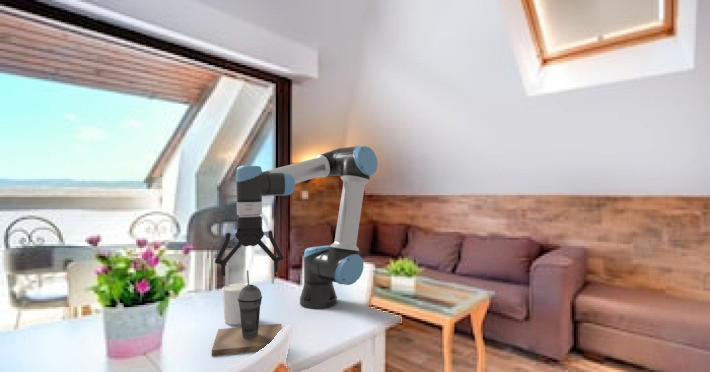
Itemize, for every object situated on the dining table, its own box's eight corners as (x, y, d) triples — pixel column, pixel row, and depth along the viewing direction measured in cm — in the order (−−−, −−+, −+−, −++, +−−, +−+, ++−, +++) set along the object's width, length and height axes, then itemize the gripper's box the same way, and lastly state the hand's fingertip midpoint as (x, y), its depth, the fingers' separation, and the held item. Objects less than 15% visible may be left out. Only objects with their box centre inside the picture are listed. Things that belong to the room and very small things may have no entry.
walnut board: (281, 328, 124) (281, 323, 124) (283, 348, 109) (283, 343, 109) (218, 333, 119) (218, 329, 119) (211, 355, 104) (211, 350, 104)
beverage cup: (249, 342, 109) (249, 274, 109) (232, 337, 113) (232, 271, 113) (267, 334, 115) (267, 270, 115) (251, 329, 119) (250, 267, 119)
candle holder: (242, 326, 125) (242, 291, 125) (216, 324, 127) (216, 289, 127) (256, 316, 135) (256, 284, 135) (231, 315, 137) (231, 282, 137)
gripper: (204, 218, 107) (205, 290, 108) (291, 215, 113) (292, 284, 114) (208, 216, 115) (209, 284, 115) (289, 213, 121) (290, 278, 121)
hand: (250, 284), depth 114 cm, fingers open, 13 cm apart
